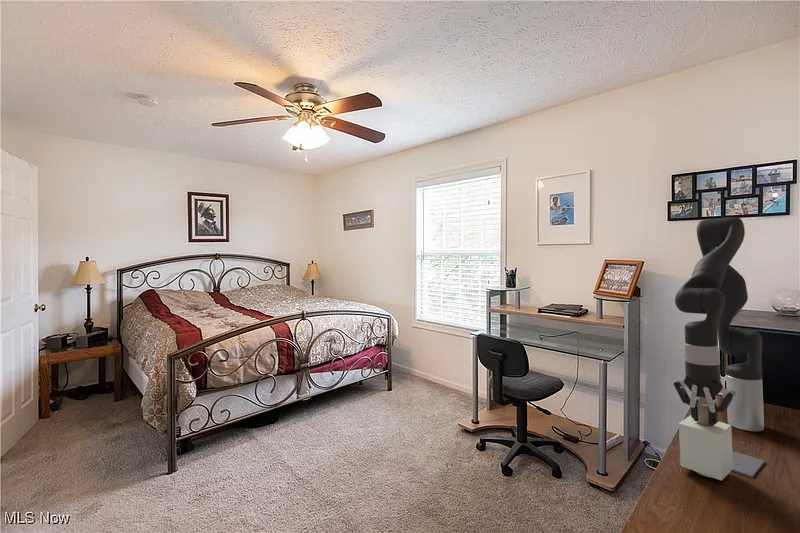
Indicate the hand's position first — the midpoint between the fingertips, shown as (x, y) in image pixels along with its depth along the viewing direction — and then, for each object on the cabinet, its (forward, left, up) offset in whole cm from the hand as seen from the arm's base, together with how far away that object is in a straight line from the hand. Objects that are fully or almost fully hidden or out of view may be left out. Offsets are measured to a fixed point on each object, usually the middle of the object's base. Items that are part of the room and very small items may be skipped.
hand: (704, 422), depth 103 cm
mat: (-12, +2, -14) cm, 19 cm away
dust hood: (0, 0, -13) cm, 13 cm away
